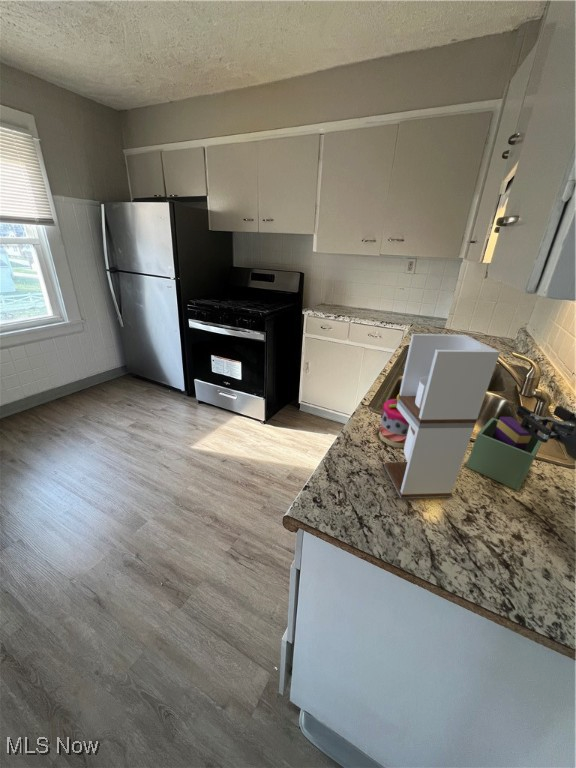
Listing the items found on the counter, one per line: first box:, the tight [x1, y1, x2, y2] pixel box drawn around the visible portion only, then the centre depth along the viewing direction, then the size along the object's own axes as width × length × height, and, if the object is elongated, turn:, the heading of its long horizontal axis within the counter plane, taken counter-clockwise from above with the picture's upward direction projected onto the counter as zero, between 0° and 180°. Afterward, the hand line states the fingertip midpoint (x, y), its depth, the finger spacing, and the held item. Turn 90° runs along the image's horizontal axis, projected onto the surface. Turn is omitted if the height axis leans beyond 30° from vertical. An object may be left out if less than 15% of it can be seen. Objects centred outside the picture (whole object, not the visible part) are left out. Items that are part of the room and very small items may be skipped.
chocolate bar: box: [492, 416, 531, 451], centre depth 77 cm, size 3×7×13 cm, turn 3°
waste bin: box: [466, 417, 543, 492], centre depth 77 cm, size 11×11×11 cm
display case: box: [383, 333, 501, 500], centre depth 67 cm, size 11×11×35 cm
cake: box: [378, 393, 410, 449], centre depth 87 cm, size 10×11×15 cm
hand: (537, 409), depth 68 cm, fingers open, 8 cm apart
